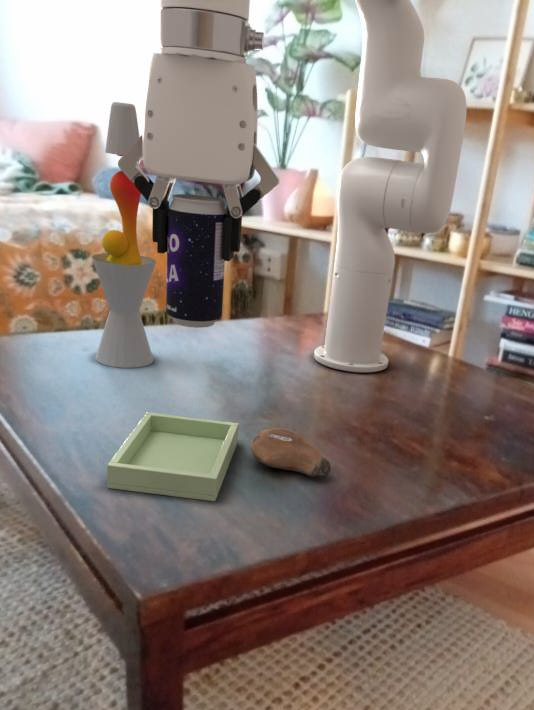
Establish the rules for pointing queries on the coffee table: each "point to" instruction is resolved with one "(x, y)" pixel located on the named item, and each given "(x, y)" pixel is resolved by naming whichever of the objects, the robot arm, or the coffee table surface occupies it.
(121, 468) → the tray
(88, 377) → the coffee table surface
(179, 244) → the beverage can
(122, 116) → the lava lamp
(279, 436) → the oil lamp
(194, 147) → the robot arm
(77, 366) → the coffee table surface
